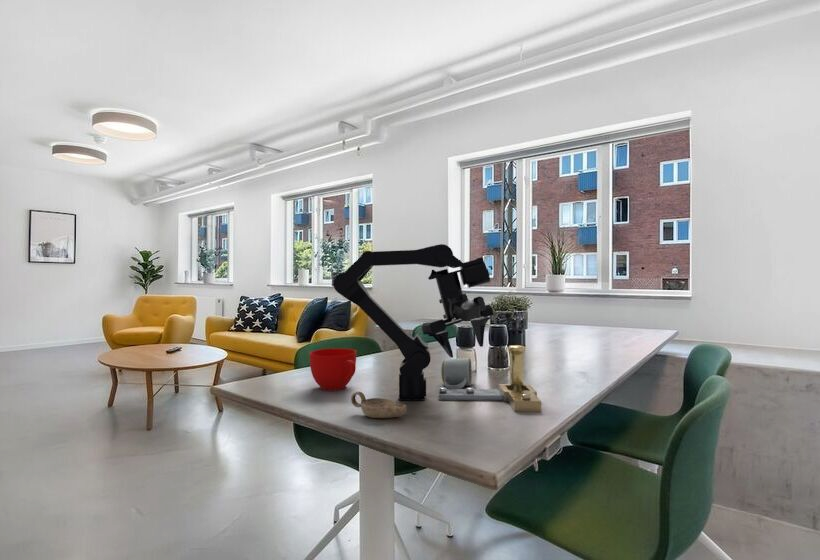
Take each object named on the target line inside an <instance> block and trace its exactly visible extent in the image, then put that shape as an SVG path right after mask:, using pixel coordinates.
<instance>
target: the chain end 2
mask: <svg viewBox="0 0 820 560" xmlns="http://www.w3.org/2000/svg"><path fill="white" fill-rule="evenodd" d="M498 389H500V391H501V393H502V394H503V396H504V397H508V402H507V403H508V404H509V405H510V407H511V408H512V409H513V412H524V413H525V412H528V413H530V412H531V413H532V412H533V413H535V412H536V413H541V412H542V401H541V400H540V398H539V397H538V392H537V390H536V389H535V388H534V387H533V386H532V384H530V383H523V390H526V391H522V390H511V383H498Z"/></svg>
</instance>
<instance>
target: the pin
mask: <svg viewBox="0 0 820 560" xmlns="http://www.w3.org/2000/svg"><path fill="white" fill-rule="evenodd" d="M525 349H526V347H525V346H524V345H519V344H515V345H512V344H511V345H508V351H509V352H510V353H509V355H510V356H509V357H510V358H509V360H510V361H509V362H510V363H509V365H510V366H509V369H510V370H509V371H510V373H509V375H510V376H509V377H510V384H511V390H522V391H523V384H524V352H525Z"/></svg>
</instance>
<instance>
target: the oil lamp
mask: <svg viewBox="0 0 820 560" xmlns="http://www.w3.org/2000/svg"><path fill="white" fill-rule="evenodd" d="M356 396H359V397H360V399H361V400H360V402H357V399H356ZM350 402H351V404H352V405H353V406H354V407H356V408H360V409H361V410H362V412H363V414H364V415H365V416H367V417H369V418H371V419H391V418H393V419H394V418H399V417H401V416H402V415H404V414H405V412H406V410H407V405H406V404H405V403H404V404H399V403H398V402H397V401H393V400H391V399H389V398H381V397H374V398H373V397H371V398H366V396H365V394H364V392H362V391H355V392H353V393H352V394H351V397H350Z"/></svg>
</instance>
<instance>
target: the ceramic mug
mask: <svg viewBox="0 0 820 560" xmlns="http://www.w3.org/2000/svg"><path fill="white" fill-rule="evenodd" d="M440 370H441V373H440V374H441V380H442V382H443V383H444V386H445V387H446V388H447V389H464V387H465V386H468V387H471V385H472V377H473V376H472V374H473V373H472V371H473V370H472V360H471V358H469V357H465V358H464V357H463V358H447V359H444V360H443V361H442V362H441V369H440Z"/></svg>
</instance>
